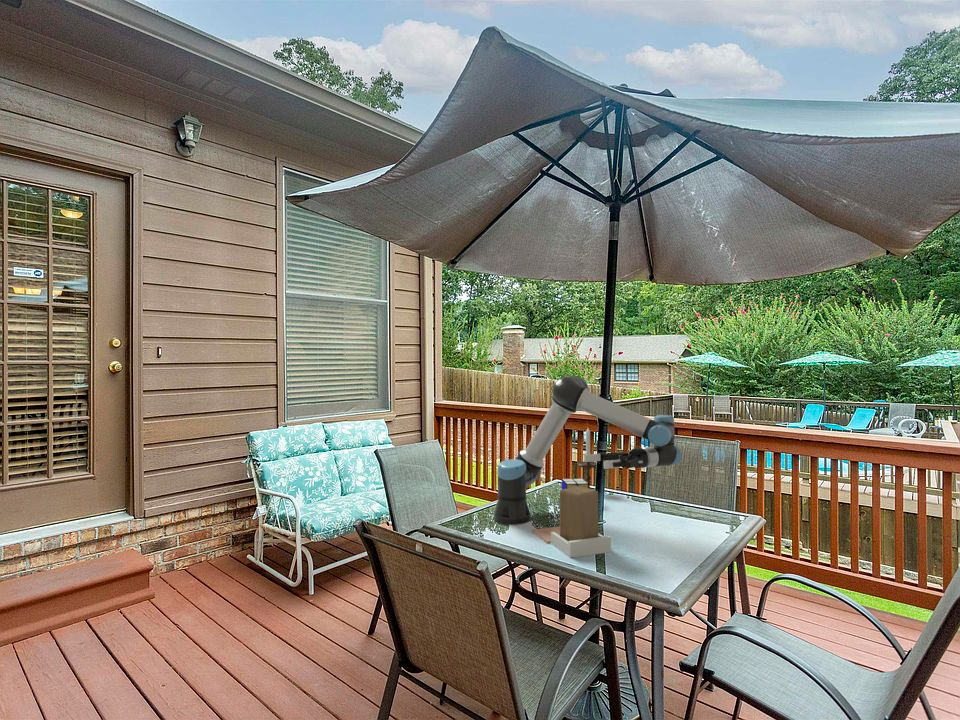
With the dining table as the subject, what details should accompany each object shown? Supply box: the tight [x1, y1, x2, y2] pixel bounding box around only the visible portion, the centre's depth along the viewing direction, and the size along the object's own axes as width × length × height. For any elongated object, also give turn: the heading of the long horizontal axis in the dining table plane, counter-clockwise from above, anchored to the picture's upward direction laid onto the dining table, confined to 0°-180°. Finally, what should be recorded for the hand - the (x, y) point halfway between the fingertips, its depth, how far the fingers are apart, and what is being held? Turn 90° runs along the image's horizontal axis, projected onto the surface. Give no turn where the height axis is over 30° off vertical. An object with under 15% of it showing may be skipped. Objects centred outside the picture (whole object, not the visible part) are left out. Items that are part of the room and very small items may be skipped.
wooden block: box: [559, 486, 599, 541], centre depth 185 cm, size 10×10×20 cm
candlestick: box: [576, 422, 597, 490], centre depth 260 cm, size 11×11×35 cm
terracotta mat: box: [530, 525, 560, 544], centre depth 198 cm, size 18×14×1 cm
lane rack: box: [550, 532, 612, 558], centre depth 184 cm, size 14×15×5 cm
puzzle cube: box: [561, 478, 588, 490], centre depth 242 cm, size 10×10×10 cm
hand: (594, 461), depth 196 cm, fingers open, 13 cm apart
